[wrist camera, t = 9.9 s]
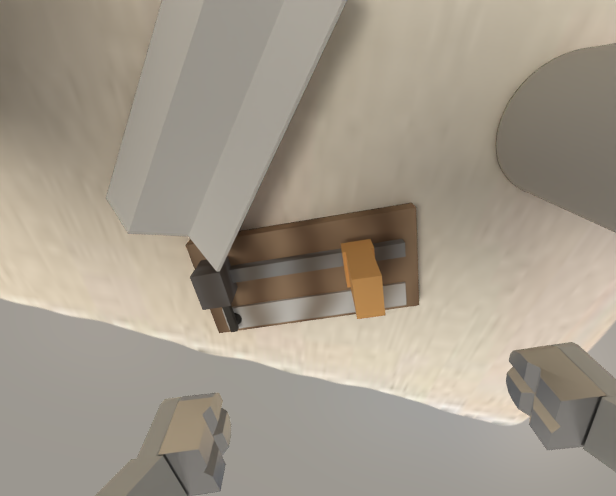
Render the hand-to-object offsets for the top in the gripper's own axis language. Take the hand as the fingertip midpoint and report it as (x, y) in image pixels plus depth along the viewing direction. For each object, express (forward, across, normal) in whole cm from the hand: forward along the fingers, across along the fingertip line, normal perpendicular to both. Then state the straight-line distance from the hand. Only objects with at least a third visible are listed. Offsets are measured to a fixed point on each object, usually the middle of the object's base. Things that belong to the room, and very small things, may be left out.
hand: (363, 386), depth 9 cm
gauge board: (+25, +3, +11) cm, 28 cm away
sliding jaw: (+23, -3, +11) cm, 26 cm away
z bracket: (+25, +8, -7) cm, 28 cm away
